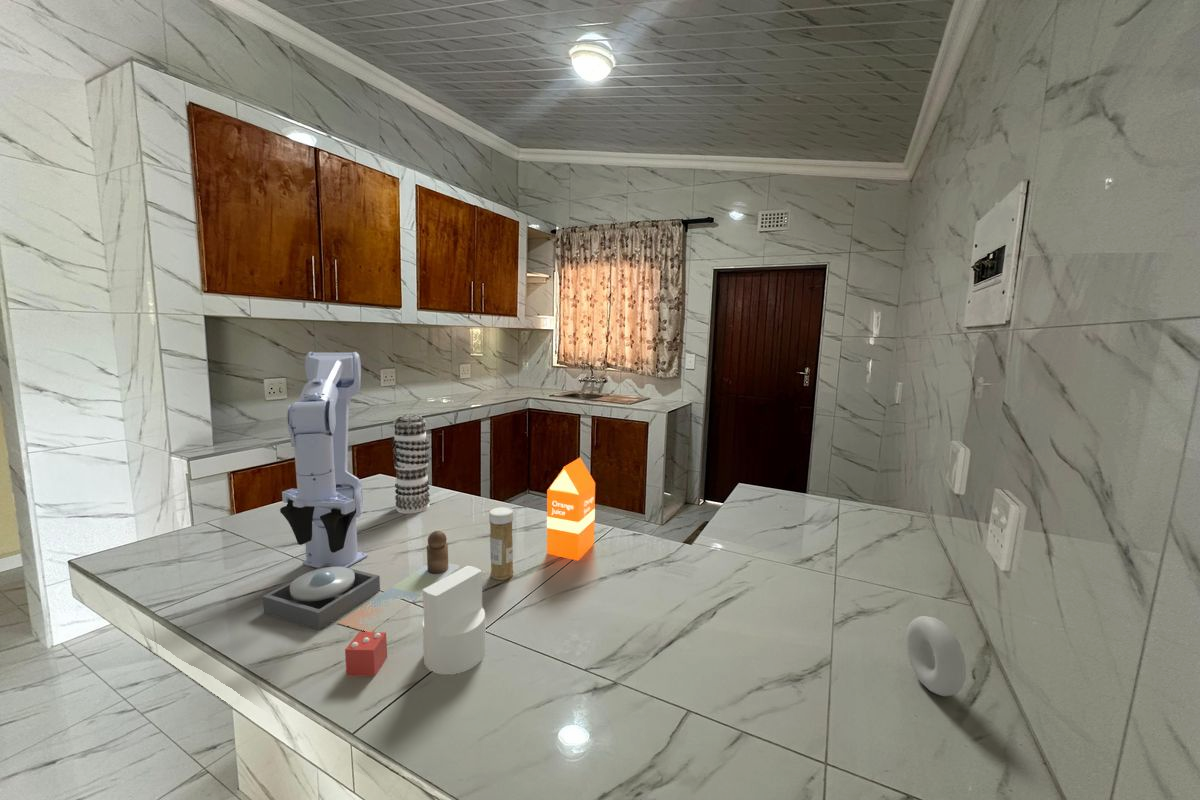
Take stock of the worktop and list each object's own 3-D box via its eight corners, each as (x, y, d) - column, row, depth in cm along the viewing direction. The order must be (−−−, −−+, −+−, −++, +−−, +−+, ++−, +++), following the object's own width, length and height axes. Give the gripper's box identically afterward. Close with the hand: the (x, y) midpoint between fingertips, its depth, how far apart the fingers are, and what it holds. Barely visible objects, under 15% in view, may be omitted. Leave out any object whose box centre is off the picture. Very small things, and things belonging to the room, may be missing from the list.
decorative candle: (387, 512, 128) (382, 418, 125) (406, 500, 137) (403, 412, 134) (419, 515, 127) (416, 420, 123) (437, 502, 136) (434, 413, 132)
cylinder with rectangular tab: (452, 683, 68) (450, 603, 66) (410, 659, 73) (407, 584, 71) (498, 648, 76) (497, 575, 74) (457, 628, 81) (455, 559, 79)
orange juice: (546, 553, 107) (546, 465, 104) (564, 538, 115) (565, 455, 112) (578, 560, 104) (580, 469, 101) (594, 544, 113) (596, 459, 109)
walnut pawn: (423, 571, 98) (421, 533, 97) (436, 562, 102) (435, 526, 101) (439, 575, 97) (438, 537, 96) (452, 566, 101) (451, 529, 99)
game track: (337, 623, 81) (337, 622, 81) (433, 560, 103) (433, 559, 103) (370, 633, 79) (370, 632, 79) (461, 566, 101) (461, 565, 101)
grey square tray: (263, 612, 84) (262, 596, 83) (328, 577, 96) (327, 562, 95) (319, 630, 79) (318, 613, 79) (380, 590, 91) (379, 575, 91)
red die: (346, 675, 69) (344, 646, 69) (360, 656, 73) (358, 629, 73) (374, 676, 69) (373, 647, 69) (387, 657, 73) (385, 629, 73)
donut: (897, 662, 74) (904, 601, 73) (920, 663, 74) (928, 602, 73) (940, 714, 65) (950, 644, 63) (967, 715, 65) (978, 645, 63)
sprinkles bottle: (517, 577, 97) (516, 512, 95) (495, 583, 95) (494, 516, 93) (508, 567, 101) (507, 504, 99) (486, 573, 98) (485, 509, 96)
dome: (276, 601, 84) (274, 579, 84) (327, 574, 94) (325, 554, 93) (320, 614, 81) (318, 591, 80) (368, 584, 90) (366, 564, 90)
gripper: (262, 472, 83) (269, 548, 85) (327, 483, 78) (332, 564, 80) (300, 461, 89) (306, 532, 91) (362, 471, 84) (366, 546, 86)
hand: (320, 546), depth 86 cm, fingers open, 7 cm apart
